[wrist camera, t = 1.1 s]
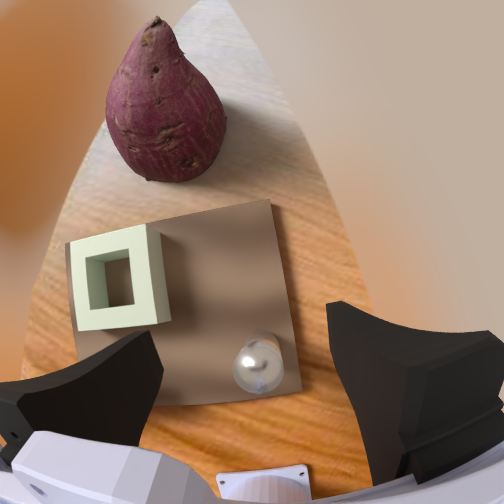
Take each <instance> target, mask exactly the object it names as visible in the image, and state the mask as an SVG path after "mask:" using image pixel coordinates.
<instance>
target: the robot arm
mask: <svg viewBox="0 0 504 504" xmlns="http://www.w3.org/2000/svg"><path fill="white" fill-rule="evenodd" d="M326 311H327V322H328V333H329V345H330V351H331V354H332V358H333V361H334V365H335V368H336V370H337V372H338V375H339V377H340V379H341V381H342V384H343V386H344V388H345V390H346V393H347V395H348V397H349V399H350V402H351V404H352V406H353V409H354V411H355V414H356V417H357V420H358V424H359V427H360V431H361V435H362V438H363V442H364V446H365V450H366V454H367V459H368V463H369V467H370V472H371V477H372V482H373V487H370V488H366V489H363V490H359V491H355V492H351V493H346V494H342V495H337V496H333V497H327V498H322V499H316V500H312V498H311V491H310V483H309V476H308V469H307V466H306V465H304V464H300V465H294V466H288V467H281V468H273V469H265V470H256V471H244V472H229V473H218V474H217V476H216V480H217V484H218V487H219V490H220V493H221V496H222V499H221V498H218V497H217V496H216V495H215V494H214V492H213V491H212V489H211V488H210V486H209V485H208V483H207V482H206V481H205V480H204V479H203V478H202V477H201V476H200V475H199V474H197V473H196V472H195V471H194V470H193V469H192V468H191V467H190V466H189V465H187V464H185V463H183V462H181V461H179V460H177V459H174V458H172V457H170V456H168V455H166V454H164V453H161V452H157V451H152V450H148V449H144V448H140V447H138V446H139V442H140V438H141V434H142V431H143V428H144V426H145V423H146V421H147V418H148V416H149V414H150V411H151V409H152V407H153V404H154V402H155V399H156V397H157V394H158V392H159V389H160V386H161V382H162V378H163V373H164V367H163V365H162V362H161V360H160V357H159V355H158V352H157V349H156V347H155V344H154V341H153V339H152V336H151V333H150V330H142V331H136V332H133V333H131V334H129V335H127V336H125V337H123V338H121V339H119V340H118V341H116V342H114V343H112V344H111V345H109V346H107V347H106V348H104V349H102V350H101V351H99V352H97V353H95V354H93V355H91V356H90V357H88V358H86V359H84V360H82V361H80V362H78V363H76V364H74V365H71V366H69V367H66V368H64V369H61V370H59V371H56V372H53V373H49V374H46V375H43V376H39V377H35V378H31V379H26V380H20V381H12V382H2V383H0V434H1V436H2V437H3V438H4V440H5V441H6V442H7V444H6V446H5V447H2V446H1V445H0V504H504V413H503V412H502V411H501V409H502V408H503V406H504V403H503V401H502V400H501V399H500V398H499V397H498V395H499V392H500V389H501V386H502V384H503V381H504V343H503V342H502V341H501V340H500V339H498V338H497V337H496V336H495V335H494V334H492V333H491V332H490V331H488V330H487V331H476V332H465V333H445V332H432V331H425V330H418V329H412V328H408V327H404V326H401V325H397V324H393V323H390V322H388V321H385V320H382V319H379V318H377V317H375V316H372V315H370V314H368V313H366V312H364V311H362V310H360V309H358V308H356V307H354V306H352V305H350V304H347V303H345V302H343V301H338V302H333V303H328V304H326ZM302 472H304V474H300V473H302ZM221 481H225V482H224V483H223V482H221Z"/></svg>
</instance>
